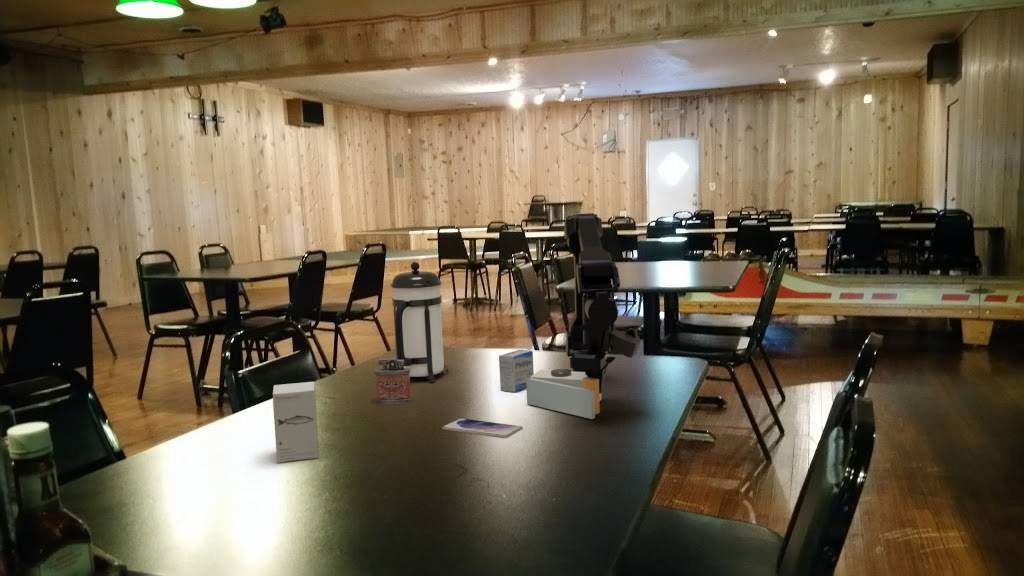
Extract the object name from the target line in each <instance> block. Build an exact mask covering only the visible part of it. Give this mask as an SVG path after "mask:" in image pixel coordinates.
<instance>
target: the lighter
mask: <svg viewBox="0 0 1024 576" xmlns="http://www.w3.org/2000/svg"><path fill="white" fill-rule="evenodd" d="M376 364H377V366H382V368H376V369H375V370H374V374H375V381H376V383H375V384H376V403H377V404H382V405H393V404H395V405H396V404H397V405H399V404H401V405H402V404H408V403H412V401H413V398H412V393H411V377H410V375H409V373H410V368H404V360H397V359H396V357H393V358H391V359H388V358H380V359H377V361H376ZM399 365H400V366H399Z"/></svg>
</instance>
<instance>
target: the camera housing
mask: <svg viewBox="0 0 1024 576" xmlns="http://www.w3.org/2000/svg"><path fill="white" fill-rule="evenodd" d="M585 377H588V376H587V374H586V373H585V372H574V371H573V370H571V369H569V368H557V369H555V368H554V369H552V370H551V369H540V370H538V371H537V372H535V373H534V375H532V376H531V377H530V378H534V379H539V380H544V381H549V382H554V383H559V384H564V385H568V386H573V387H578V388H583V378H585ZM602 398H603V397H602V392H601V393H600V394H599V403H600V402H601V401H602V400H603V399H602Z"/></svg>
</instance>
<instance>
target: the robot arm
mask: <svg viewBox="0 0 1024 576" xmlns="http://www.w3.org/2000/svg"><path fill="white" fill-rule="evenodd" d="M563 227H564V228H563V232H564V234H563V235H564V239H565V240H566V242H567V243H566V244H567V246H568V248H569V249H570V251H571V253H572V254H573V263H574V264H573V267H574V268H573V269H574V273H573V275H574V277H573V278H574V314H573V316H572V318H571V319H570V321H569V323H568V331H567V332H566V335H565V353H566V356H567V358H569V367H570V369H572V371H574V372H585V373H586V374H587V376H588V377H591V378H596V379H599V394H600V393H601V394H602V392H603V387H604V383H605V379H606V374H607V371H608V367H609V365H611V364H612V363H613V362H614V361H615V360H616V357H615V356H610V353H609V352H611V350H612V351H614V352H617V353H620V354H621V355H623V356H624V357H626V358H633V357H634V356H635V355H636V354H637V351H638V348H639V346H640V344H641V338H640V336H639V335H638V330H637V329H635V328H632V327H630V328H629V329H627V330H626V331H625V332H624V331H623V330H621V331H620V330H618V329H616V323H615V322H616V321H617V319H618V316H619V309H618V306H617V305H616V303H615V302H614V301H613V300H612V297H611V293H619V288H620V287H621V279H620V275H619V269H618V266H617V263H615V261H612V257H611V253H610V252H608V251H607V250H605V249H603V246H602V242H601V238H602V237H603V221H602V218H601V217H598V214H596V213H594V212H593V213H577V214H574V216H573V217H570V218H569V219H566V220H565V221H564V225H563Z"/></svg>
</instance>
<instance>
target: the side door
mask: <svg viewBox="0 0 1024 576" xmlns="http://www.w3.org/2000/svg"><path fill="white" fill-rule="evenodd" d="M526 385H527V388H526V403H527V405H531V406H535V407H539V408H543V409H548V410H552V411H557V412H560V413H565V414H569V415H573V416H577V417H581V418H586V419H589V420H593V419H596V415H598V414H600V413H601V411H600V410H601V405H600V402H599V379H596V378H591V377H585V378H583V388H578V387H573V386H568V385H564V384H559V383H554V382H549V381H544V380H539V379H534V378H526Z"/></svg>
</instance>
